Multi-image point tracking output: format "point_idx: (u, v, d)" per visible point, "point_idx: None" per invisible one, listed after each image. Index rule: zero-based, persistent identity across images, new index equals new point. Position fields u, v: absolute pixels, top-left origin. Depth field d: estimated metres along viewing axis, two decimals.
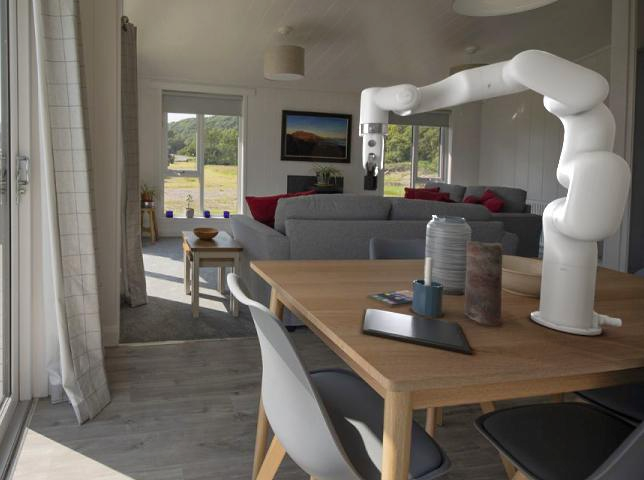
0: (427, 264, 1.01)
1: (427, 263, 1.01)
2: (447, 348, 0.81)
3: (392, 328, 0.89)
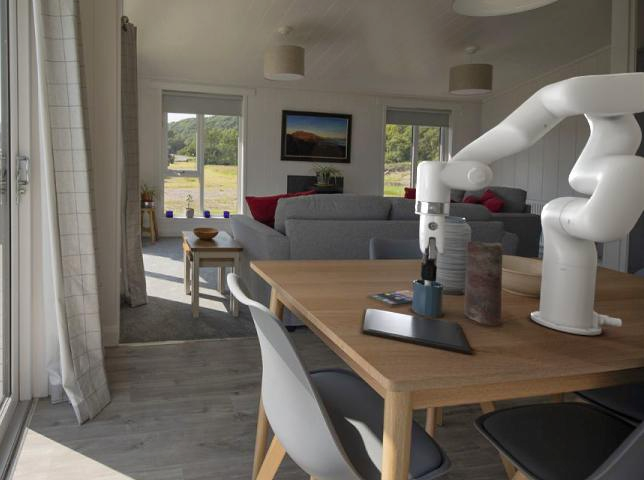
0: None
1: None
2: (447, 348, 0.81)
3: (392, 328, 0.89)
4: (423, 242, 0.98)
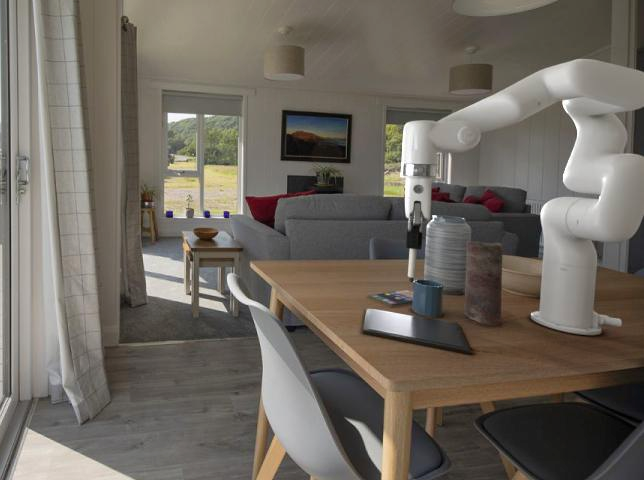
0: None
1: None
2: (447, 348, 0.81)
3: (392, 328, 0.89)
4: (408, 206, 0.91)
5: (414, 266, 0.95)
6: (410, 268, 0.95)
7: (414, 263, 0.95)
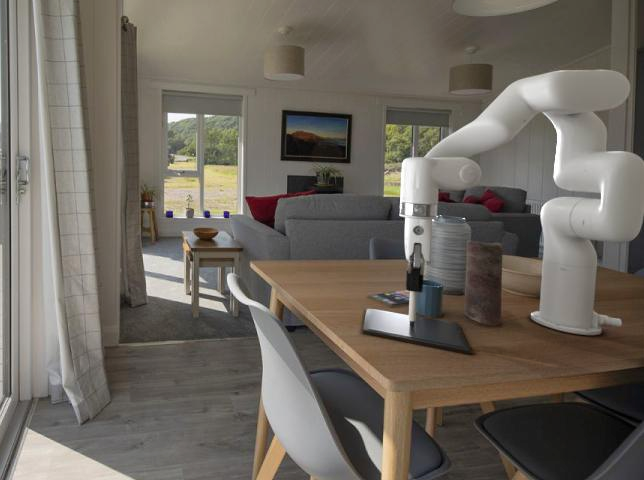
0: None
1: None
2: (447, 348, 0.81)
3: (392, 328, 0.89)
4: (407, 248, 0.87)
5: (415, 309, 0.90)
6: (411, 311, 0.91)
7: (415, 306, 0.90)
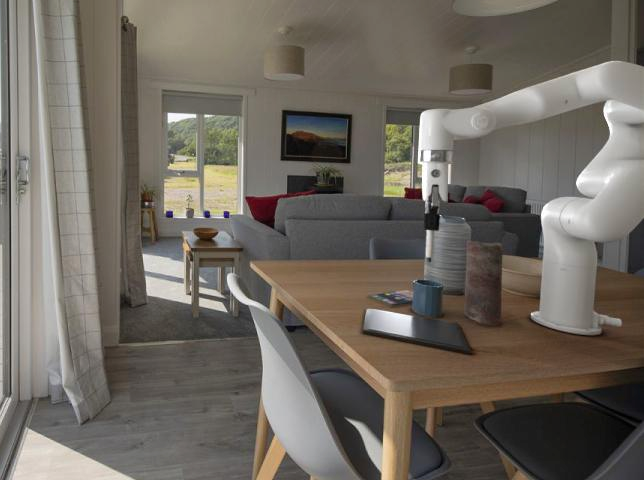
0: None
1: None
2: (447, 348, 0.81)
3: (392, 328, 0.89)
4: (426, 190, 0.97)
5: (432, 247, 1.00)
6: (428, 249, 1.01)
7: (432, 244, 1.00)
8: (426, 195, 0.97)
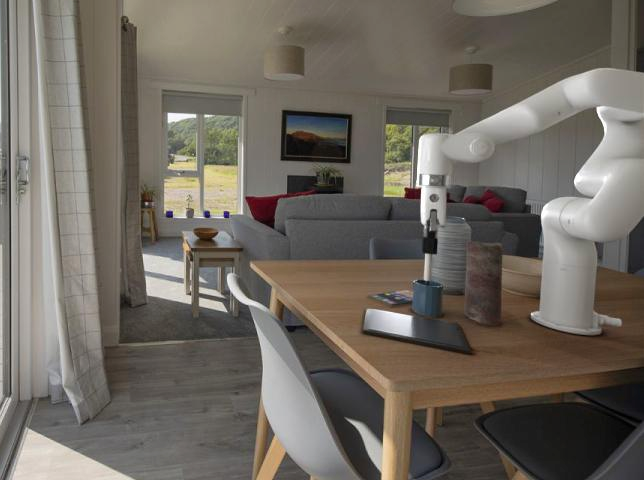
0: None
1: None
2: (447, 348, 0.81)
3: (392, 328, 0.89)
4: (424, 214, 0.97)
5: (430, 270, 1.01)
6: (426, 272, 1.01)
7: (430, 267, 1.01)
8: (424, 219, 0.97)
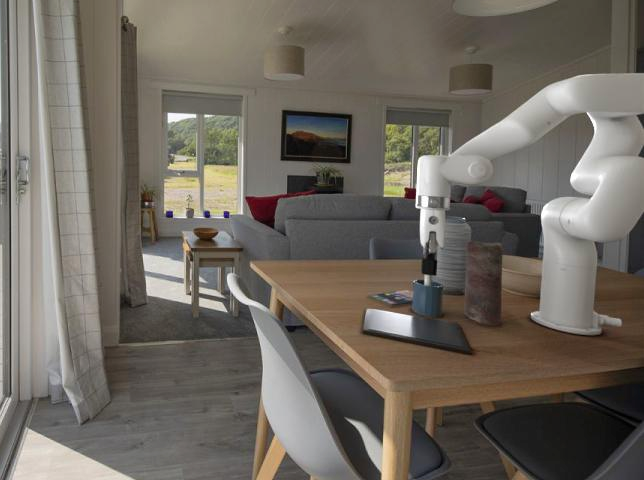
0: None
1: None
2: (447, 348, 0.81)
3: (392, 328, 0.89)
4: (423, 236, 0.98)
5: None
6: None
7: None
8: (424, 241, 0.98)
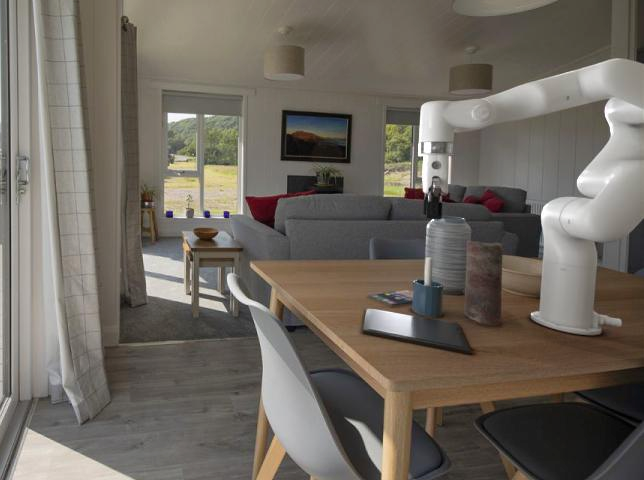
0: (427, 264, 1.01)
1: (427, 263, 1.01)
2: (447, 348, 0.81)
3: (392, 328, 0.89)
4: (426, 182, 0.97)
5: None
6: None
7: None
8: (426, 187, 0.97)
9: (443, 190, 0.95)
